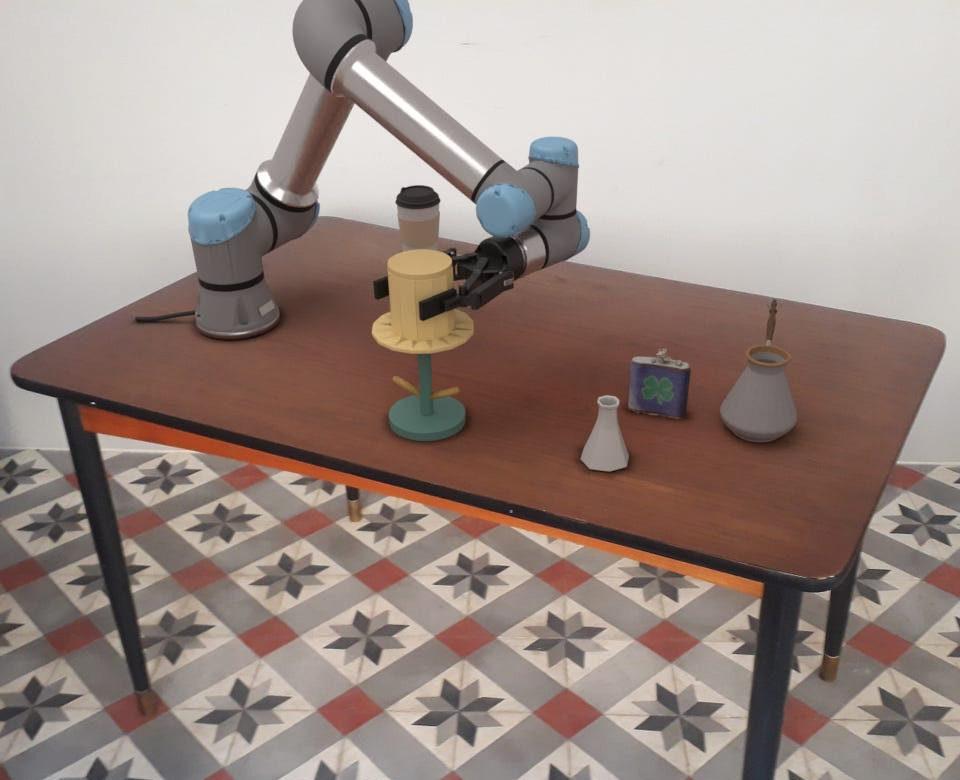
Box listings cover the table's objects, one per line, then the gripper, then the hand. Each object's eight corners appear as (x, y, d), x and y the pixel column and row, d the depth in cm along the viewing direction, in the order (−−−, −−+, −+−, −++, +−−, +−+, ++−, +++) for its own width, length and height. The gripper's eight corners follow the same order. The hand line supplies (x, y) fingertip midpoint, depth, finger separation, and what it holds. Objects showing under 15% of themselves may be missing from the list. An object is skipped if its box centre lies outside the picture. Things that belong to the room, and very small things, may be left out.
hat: (354, 344, 152) (348, 274, 145) (398, 302, 163) (394, 236, 157) (450, 360, 147) (447, 289, 141) (488, 316, 158) (487, 248, 152)
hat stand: (376, 432, 161) (366, 314, 150) (408, 396, 170) (401, 281, 159) (447, 447, 158) (443, 327, 146) (477, 409, 167) (475, 293, 155)
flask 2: (626, 411, 165) (631, 350, 159) (629, 402, 168) (635, 342, 162) (684, 420, 163) (691, 359, 157) (687, 411, 165) (694, 351, 159)
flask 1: (576, 447, 157) (579, 389, 151) (624, 444, 158) (628, 386, 152) (584, 474, 151) (587, 415, 145) (633, 471, 152) (638, 412, 146)
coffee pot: (792, 454, 155) (809, 364, 146) (714, 443, 157) (726, 354, 149) (797, 385, 172) (813, 301, 163) (726, 376, 174) (738, 293, 166)
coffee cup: (445, 251, 220) (442, 181, 211) (439, 269, 212) (436, 197, 204) (402, 250, 221) (398, 180, 212) (395, 268, 213) (391, 196, 205)
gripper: (560, 300, 157) (450, 349, 144) (461, 259, 170) (352, 301, 158) (562, 252, 153) (448, 299, 140) (460, 215, 166) (347, 254, 153)
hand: (397, 300), depth 149 cm, fingers closed on hat, 9 cm apart
